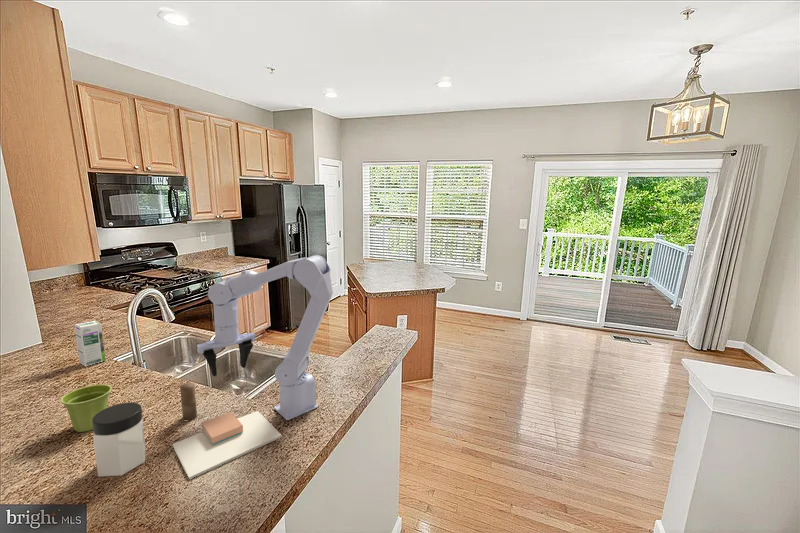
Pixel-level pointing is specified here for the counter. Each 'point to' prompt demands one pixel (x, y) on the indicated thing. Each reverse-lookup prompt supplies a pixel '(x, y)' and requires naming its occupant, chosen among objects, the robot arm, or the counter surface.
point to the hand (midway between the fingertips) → (228, 370)
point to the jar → (119, 439)
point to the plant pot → (86, 405)
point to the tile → (222, 428)
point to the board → (224, 445)
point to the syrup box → (90, 343)
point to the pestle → (188, 401)
